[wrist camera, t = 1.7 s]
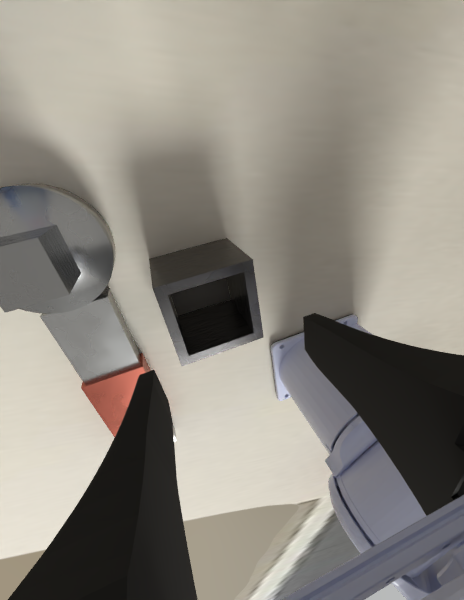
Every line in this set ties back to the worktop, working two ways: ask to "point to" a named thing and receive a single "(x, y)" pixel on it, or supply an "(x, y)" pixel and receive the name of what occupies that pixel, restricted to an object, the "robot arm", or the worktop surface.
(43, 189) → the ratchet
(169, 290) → the hollow square tube
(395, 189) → the worktop surface
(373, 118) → the worktop surface
